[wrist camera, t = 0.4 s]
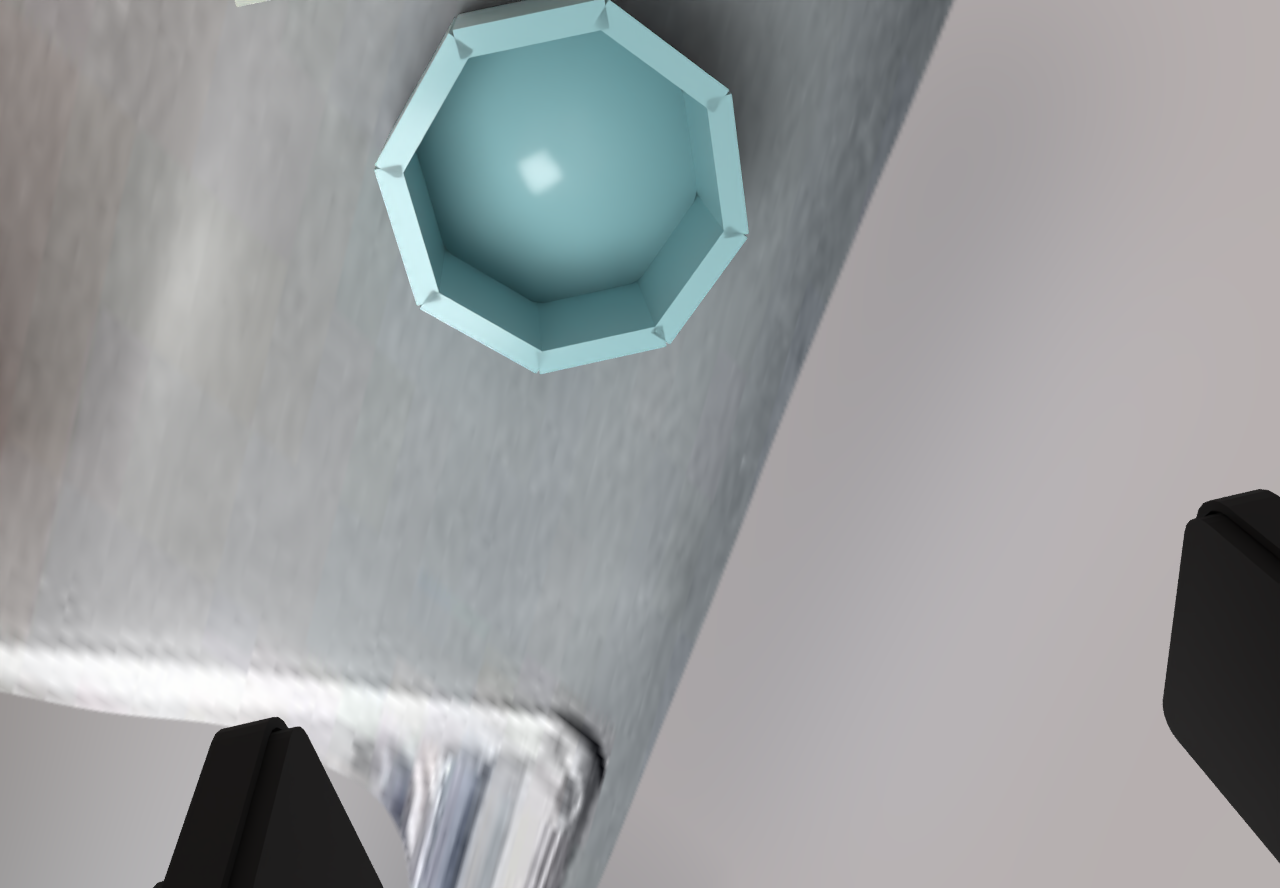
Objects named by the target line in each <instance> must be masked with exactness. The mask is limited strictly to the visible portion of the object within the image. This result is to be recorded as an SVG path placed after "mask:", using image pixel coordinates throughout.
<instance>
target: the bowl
mask: <svg viewBox="0 0 1280 888" xmlns="http://www.w3.org/2000/svg"><path fill="white" fill-rule="evenodd" d="M728 91H729V89H727V88H726V87H725V86H723V85H722V84H721V83H719V82H718V81H717V80H715V79H714V78H713V77H711V76H710V75H709V74H707V73H706V72H705V71H703V70H702V69H701V68H699V67H698V66H697V65H696V64H694V63H693V62H692V61H690V60H689V59H688V58H686V57H685V56H684V55H682V54H681V53H680V52H678V51H677V50H676V49H674V48H673V47H672V46H670V45H669V44H668V43H666V42H665V41H664V40H662V39H661V38H660V37H658V36H657V35H656V34H654V33H653V32H652V31H650V30H649V29H648V28H646V27H645V26H644V25H642V24H641V23H640V22H638V21H637V20H636V19H634V18H633V17H632V16H630V15H629V14H628V13H626V12H625V11H624V10H622V9H621V8H620V7H618V6H617V5H616V4H614V3H613V2H612V1H610V0H524V1H520V2H515V3H510V4H505V5H500V6H496V7H491V8H486V9H481V10H476V11H472V12H467V13H462V14H458V16H457V18H455V17H454V19H453V21H452V23H451V24H450V26H449V28H448V30H447V32H446V33H445V35H444V37H443V39H442V41H441V42H440V44H439V46H438V48H437V49H436V51H435V53H434V55H433V57H432V58H431V60H430V62H429V64H428V66H427V67H426V69H425V71H424V73H423V75H422V76H421V78H420V80H419V82H418V84H417V85H416V87H415V89H414V91H413V93H412V94H411V96H410V98H409V100H408V102H407V103H406V105H405V107H404V109H403V111H402V112H401V114H400V116H399V118H398V120H397V121H396V123H395V125H394V127H393V129H392V130H391V132H390V134H389V136H388V138H387V140H386V143H385V145H384V147H383V149H382V151H381V153H380V155H379V157H378V159H377V161H376V164H375V166H376V167H375V170H374V171H375V174H376V177H377V180H378V183H379V187H380V190H381V193H382V196H383V199H384V202H385V206H386V209H387V212H388V215H389V218H390V221H391V225H392V228H393V231H394V234H395V237H396V241H397V244H398V247H399V250H400V253H401V256H402V260H403V263H404V266H405V269H406V272H407V275H408V279H409V282H410V285H411V288H412V291H413V295H414V298H415V301H416V304H417V305H420V309H421V310H423V311H424V312H426V313H428V314H430V315H432V316H433V317H435V318H437V319H439V320H441V321H442V322H444V323H446V324H448V325H450V326H451V327H453V328H455V329H457V330H459V331H460V332H462V333H464V334H466V335H468V336H469V337H471V338H473V339H475V340H477V341H478V342H480V343H482V344H484V345H486V346H487V347H489V348H491V349H493V350H495V351H496V352H498V353H500V354H502V355H504V356H505V357H507V358H509V359H511V360H513V361H514V362H516V363H518V364H520V365H521V366H523V367H525V368H527V369H529V370H530V371H532V372H534V373H537V372H538V370H539V371H540V374H544V373H548V372H553V371H557V370H562V369H566V368H571V367H576V366H580V365H585V364H589V363H594V362H598V361H603V360H607V359H612V358H616V357H621V356H626V355H630V354H635V353H639V352H644V351H648V350H653V349H657V348H662V347H666V342H667V343H669V344H670V343H671V342H672V341H673V339H674V338H675V337H676V335H677V334H678V332H679V331H680V330H681V328H682V327H683V326H684V324H685V323H686V321H687V320H688V319H689V317H690V316H691V315H692V313H693V312H694V311H695V309H696V308H697V306H698V305H699V304H700V302H701V301H702V300H703V298H704V297H705V295H706V294H707V293H708V291H709V290H710V289H711V287H712V286H713V285H714V283H715V282H716V280H717V279H718V278H719V276H720V275H721V274H722V272H723V271H724V269H725V268H726V267H727V265H728V264H729V263H730V261H731V260H732V258H733V257H734V256H735V254H736V253H737V252H738V250H739V249H740V248H741V246H742V245H743V243H744V242H745V241H746V239H747V236H746V235H745V234H749V231H748V223H747V215H746V207H745V198H744V190H743V182H742V174H741V166H740V158H739V150H738V142H737V134H736V125H735V117H734V109H733V101H732V94H731V93H730V92H728Z"/></svg>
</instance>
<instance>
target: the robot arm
mask: <svg viewBox="0 0 1280 888" xmlns="http://www.w3.org/2000/svg"><path fill="white" fill-rule="evenodd" d="M1163 711H1164V715H1165V718H1166V721H1167V724H1168V726H1169V728H1170V730H1171V732H1172V733H1173V735H1174V736H1175V737H1176V739H1177V740H1178V741H1179V742H1180V744H1181V745H1182V746H1183V747H1184V748H1185V749H1186V751H1187V752H1188V753H1189V755H1190V756H1191V757H1192V758H1193V759H1194V760H1195V762H1196V763H1197V764H1198V765H1199V766H1200V768H1201V769H1202V770H1203V771H1204V772H1205V774H1206V775H1207V776H1208V777H1209V779H1210V780H1211V781H1212V782H1213V783H1214V784H1215V786H1216V787H1217V788H1218V789H1219V790H1220V792H1221V793H1222V794H1223V795H1224V797H1225V798H1226V799H1227V800H1228V801H1229V803H1230V804H1231V805H1232V806H1233V807H1234V809H1235V810H1236V811H1237V812H1238V813H1239V815H1240V816H1241V817H1242V818H1243V819H1244V820H1245V822H1246V823H1247V824H1248V825H1249V827H1250V828H1251V829H1252V830H1253V831H1254V833H1255V834H1256V835H1257V836H1258V837H1259V839H1260V840H1261V841H1262V842H1263V843H1264V845H1265V846H1266V847H1267V848H1268V850H1269V851H1270V852H1271V853H1272V854H1273V855H1274V857H1275V858H1276V859H1277V860H1278V862H1279V863H1280V497H1279V496H1278V495H1276V494H1274V493H1273V492H1271V491H1269V490H1262V489H1258V490H1254V491H1250V492H1245V493H1241V494H1236V495H1232V496H1228V497H1223V498H1219V499H1215V500H1210V501H1208V502H1205V503H1203V505H1202V506H1201V507H1200V508H1199V510H1198V514H1197V517H1196V518H1195V519H1192V520H1190V521H1189V522H1188V524H1187V525H1186V529H1185V533H1184V540H1183V548H1182V556H1181V564H1180V572H1179V579H1178V587H1177V595H1176V602H1175V611H1174V618H1173V626H1172V633H1171V642H1170V649H1169V657H1168V665H1167V672H1166V680H1165V688H1164V696H1163ZM153 888H383V886H382V884H381V882H380V880H379V878H378V876H377V874H376V872H375V870H374V868H373V866H372V864H371V862H370V860H369V857H368V856H367V853H366V852H365V849H364V847H363V846H362V844H361V842H360V840H359V838H358V836H357V834H356V831H355V829H354V827H353V826H352V824H351V821H350V820H349V817H348V815H347V813H346V811H345V809H344V807H343V805H342V804H341V801H340V799H339V797H338V795H337V793H336V791H335V789H334V787H333V786H332V783H331V782H330V779H329V777H328V775H327V774H326V771H325V769H324V767H323V765H322V763H321V761H320V759H319V757H318V755H317V753H316V751H315V749H314V747H313V745H312V743H311V741H310V739H309V737H308V735H307V734H306V732H305V731H304V729H302V728H301V727H293V728H288V727H287V725H286V724H285V722H284V721H283V720H282V719H280V718H279V717H272V718H268V719H263V720H259V721H255V722H250V723H246V724H242V725H237V726H233V727H229V728H224V729H221V730H220V731H218V732H217V733H216V734H215V736H214V738H213V740H212V742H211V745H210V748H209V751H208V754H207V757H206V760H205V763H204V766H203V769H202V771H201V774H200V777H199V780H198V783H197V786H196V789H195V792H194V795H193V798H192V801H191V804H190V806H189V810H188V812H187V815H186V818H185V821H184V824H183V827H182V830H181V833H180V836H179V839H178V842H177V844H176V848H175V850H174V853H173V856H172V859H171V862H170V865H169V868H168V871H167V874H166V876H165V879H164V881H162V882H159V883H157V884H156V885H155V886H154V887H153Z"/></svg>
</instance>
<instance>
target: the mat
mask: <svg viewBox="0 0 1280 888" xmlns="http://www.w3.org/2000/svg"><path fill="white" fill-rule="evenodd" d="M264 1H269V0H235V3H236V6H237V7H240V6H245V5H250V4H254V3H259V2H264Z"/></svg>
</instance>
